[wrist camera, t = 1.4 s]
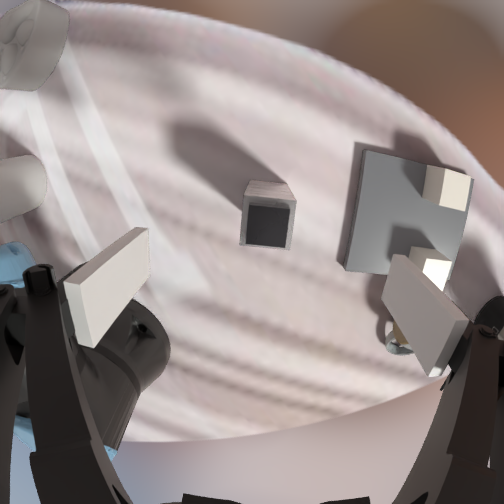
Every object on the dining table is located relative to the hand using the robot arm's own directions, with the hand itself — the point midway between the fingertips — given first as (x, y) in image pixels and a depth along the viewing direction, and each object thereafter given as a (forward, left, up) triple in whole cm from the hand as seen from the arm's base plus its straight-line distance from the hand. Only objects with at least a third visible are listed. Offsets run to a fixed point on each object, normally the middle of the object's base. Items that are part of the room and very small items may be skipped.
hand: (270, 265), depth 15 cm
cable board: (+18, 0, -18) cm, 25 cm away
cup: (-34, +1, -18) cm, 39 cm away
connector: (0, 0, -18) cm, 18 cm away
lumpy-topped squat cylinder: (-34, +21, -18) cm, 44 cm away
